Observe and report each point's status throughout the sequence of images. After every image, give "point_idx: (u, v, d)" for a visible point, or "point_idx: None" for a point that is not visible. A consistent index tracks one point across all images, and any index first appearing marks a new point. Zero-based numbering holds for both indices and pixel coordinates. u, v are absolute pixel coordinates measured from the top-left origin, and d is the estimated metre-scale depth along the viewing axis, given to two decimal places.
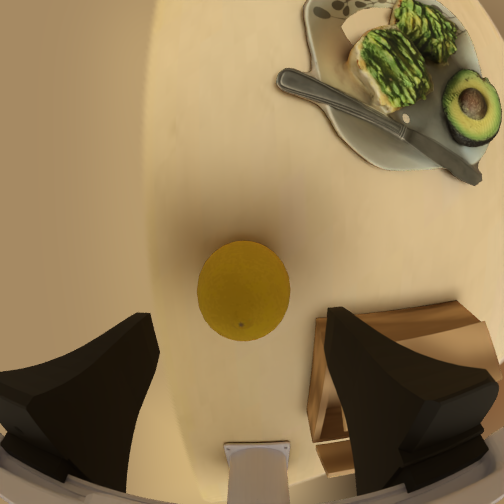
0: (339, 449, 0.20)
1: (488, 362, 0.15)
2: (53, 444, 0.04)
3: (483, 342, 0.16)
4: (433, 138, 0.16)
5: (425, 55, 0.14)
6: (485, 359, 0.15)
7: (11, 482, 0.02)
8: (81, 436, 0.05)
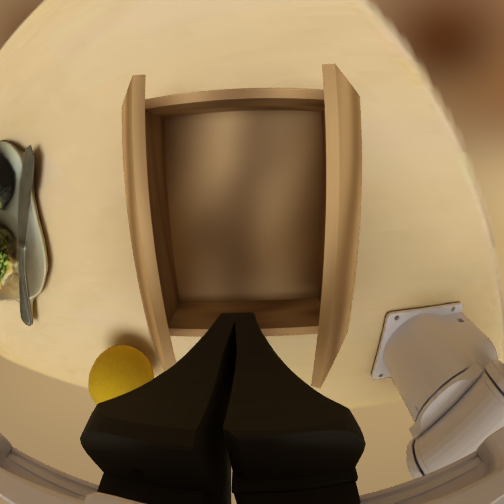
0: None
1: (127, 115, 0.10)
2: (206, 480, 0.04)
3: (124, 120, 0.12)
4: (17, 216, 0.18)
5: None
6: (126, 122, 0.11)
7: (11, 482, 0.02)
8: (216, 460, 0.05)
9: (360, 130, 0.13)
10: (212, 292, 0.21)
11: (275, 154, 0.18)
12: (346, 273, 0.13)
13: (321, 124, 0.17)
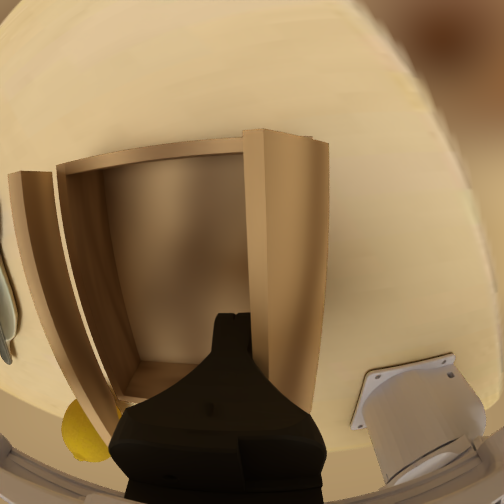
0: None
1: None
2: (242, 481, 0.04)
3: None
4: None
5: None
6: None
7: (11, 482, 0.02)
8: None
9: (327, 195, 0.10)
10: (172, 355, 0.19)
11: (229, 211, 0.15)
12: (296, 383, 0.10)
13: None
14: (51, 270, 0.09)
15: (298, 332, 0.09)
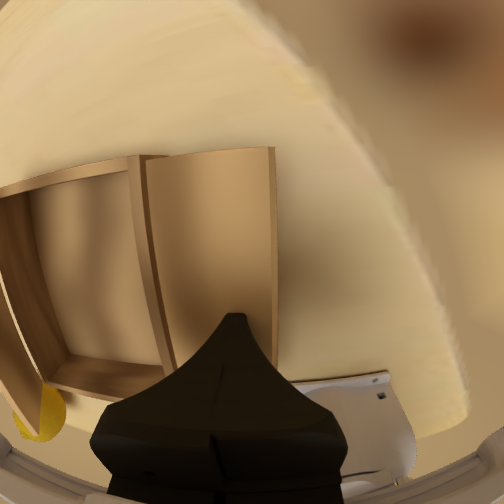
0: None
1: None
2: (219, 480, 0.04)
3: None
4: None
5: None
6: None
7: (11, 482, 0.02)
8: None
9: None
10: (91, 350, 0.19)
11: (113, 224, 0.16)
12: None
13: None
14: None
15: None
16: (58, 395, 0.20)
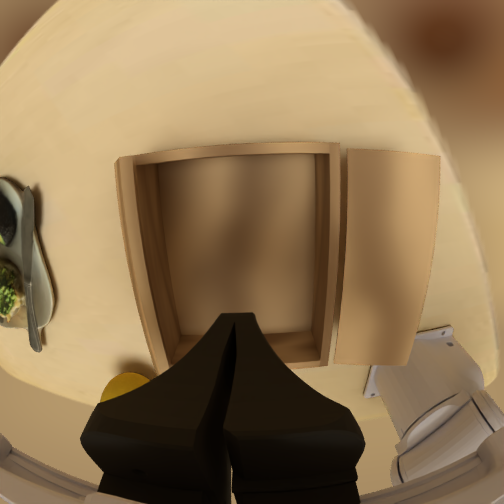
0: (360, 344, 0.18)
1: (119, 188, 0.11)
2: (206, 480, 0.04)
3: (117, 184, 0.13)
4: (21, 254, 0.19)
5: None
6: (119, 193, 0.12)
7: (11, 482, 0.02)
8: (216, 460, 0.05)
9: None
10: None
11: (268, 200, 0.19)
12: None
13: (314, 167, 0.18)
14: None
15: None
16: None
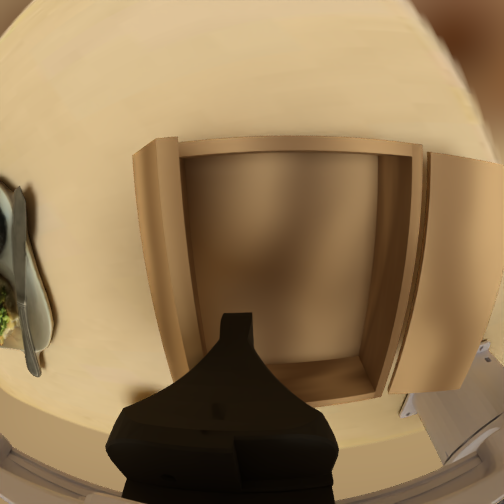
0: (420, 372, 0.14)
1: (147, 191, 0.07)
2: (239, 481, 0.04)
3: (139, 185, 0.09)
4: (12, 268, 0.16)
5: None
6: (146, 199, 0.08)
7: (11, 482, 0.02)
8: None
9: None
10: None
11: (324, 208, 0.15)
12: None
13: (377, 171, 0.15)
14: None
15: None
16: None
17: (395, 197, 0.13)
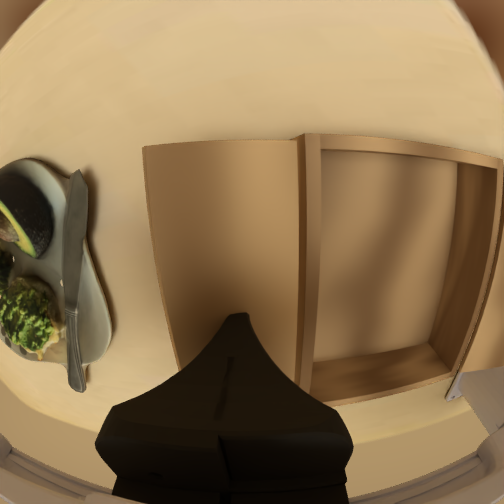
0: (485, 350, 0.14)
1: None
2: (226, 481, 0.04)
3: None
4: (61, 270, 0.15)
5: (3, 265, 0.15)
6: None
7: (11, 482, 0.02)
8: None
9: None
10: (337, 351, 0.18)
11: (419, 207, 0.15)
12: None
13: (456, 176, 0.14)
14: (217, 258, 0.09)
15: None
16: None
17: (478, 200, 0.12)
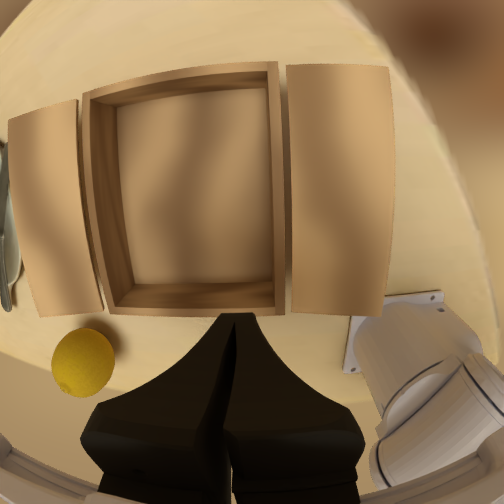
0: (320, 285, 0.16)
1: None
2: (206, 480, 0.04)
3: None
4: None
5: None
6: None
7: (11, 482, 0.02)
8: (216, 460, 0.05)
9: None
10: (164, 275, 0.21)
11: (218, 133, 0.18)
12: None
13: (265, 100, 0.17)
14: (31, 167, 0.13)
15: None
16: (108, 341, 0.22)
17: (268, 111, 0.15)
